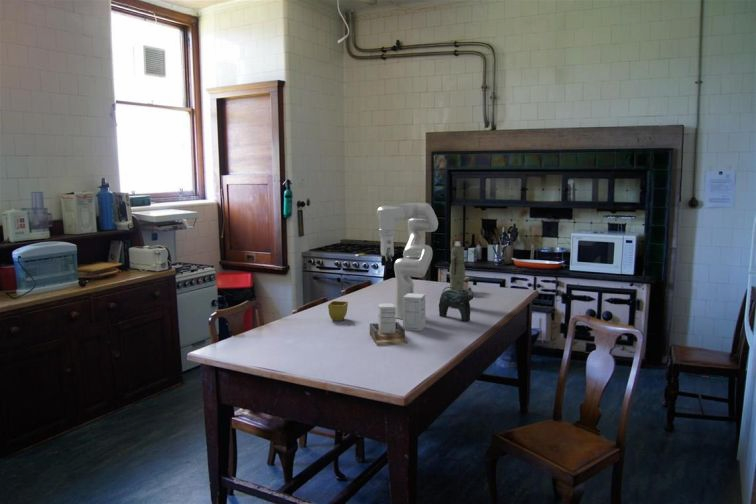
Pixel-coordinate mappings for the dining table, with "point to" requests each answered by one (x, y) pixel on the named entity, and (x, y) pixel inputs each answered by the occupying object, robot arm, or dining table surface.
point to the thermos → (457, 268)
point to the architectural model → (467, 281)
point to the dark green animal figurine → (456, 302)
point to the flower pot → (337, 310)
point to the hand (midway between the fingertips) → (386, 267)
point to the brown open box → (388, 335)
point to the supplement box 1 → (387, 318)
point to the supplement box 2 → (414, 312)
